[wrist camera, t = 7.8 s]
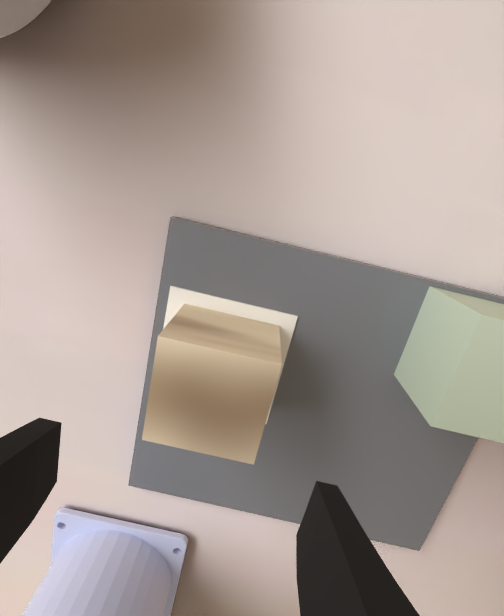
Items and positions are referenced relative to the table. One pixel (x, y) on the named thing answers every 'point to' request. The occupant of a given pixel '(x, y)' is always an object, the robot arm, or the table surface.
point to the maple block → (213, 383)
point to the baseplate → (311, 386)
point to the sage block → (457, 364)
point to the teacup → (19, 14)
